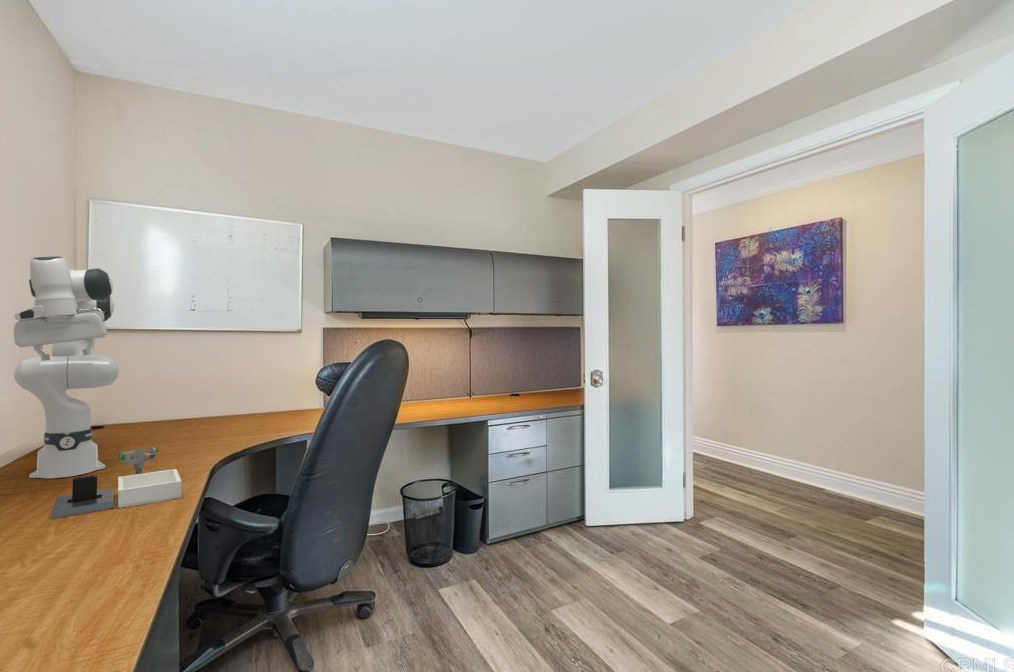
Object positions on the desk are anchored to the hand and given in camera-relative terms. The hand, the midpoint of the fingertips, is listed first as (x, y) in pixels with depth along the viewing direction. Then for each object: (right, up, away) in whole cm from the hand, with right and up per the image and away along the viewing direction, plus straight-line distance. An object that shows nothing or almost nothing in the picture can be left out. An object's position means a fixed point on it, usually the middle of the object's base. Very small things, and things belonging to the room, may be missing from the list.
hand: (67, 357), depth 142 cm
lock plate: (+16, -39, -12) cm, 44 cm away
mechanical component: (+14, -40, +10) cm, 43 cm away
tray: (+27, -40, -3) cm, 48 cm away
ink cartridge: (+16, -40, -12) cm, 44 cm away
